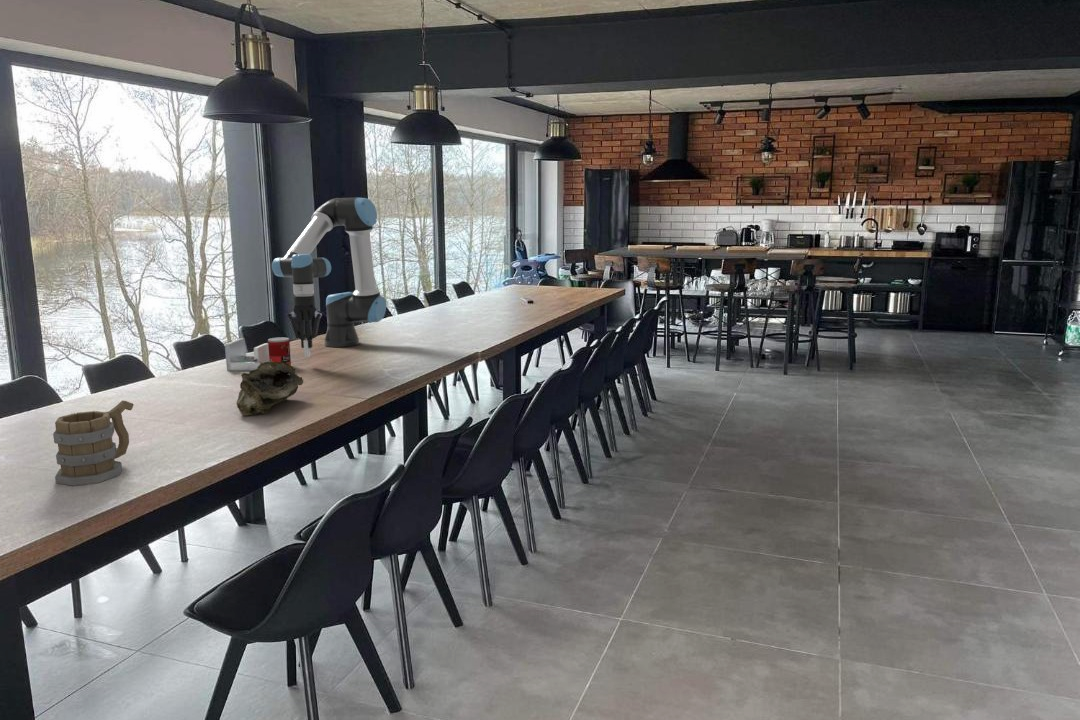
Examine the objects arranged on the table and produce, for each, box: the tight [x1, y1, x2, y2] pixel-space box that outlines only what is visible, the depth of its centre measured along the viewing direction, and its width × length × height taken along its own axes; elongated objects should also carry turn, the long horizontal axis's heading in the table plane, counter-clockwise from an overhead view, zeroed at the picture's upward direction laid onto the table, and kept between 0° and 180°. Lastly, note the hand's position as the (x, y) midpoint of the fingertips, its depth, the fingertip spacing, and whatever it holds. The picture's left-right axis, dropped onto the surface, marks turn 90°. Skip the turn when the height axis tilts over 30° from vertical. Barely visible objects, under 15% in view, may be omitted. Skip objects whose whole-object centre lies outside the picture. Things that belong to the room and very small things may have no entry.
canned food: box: [267, 336, 292, 367], centre depth 296 cm, size 8×8×11 cm
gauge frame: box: [224, 337, 262, 371], centre depth 296 cm, size 14×13×10 cm
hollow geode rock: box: [235, 362, 304, 417], centre depth 236 cm, size 28×13×15 cm
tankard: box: [52, 400, 135, 487], centre depth 178 cm, size 20×13×15 cm, turn 158°
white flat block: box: [253, 342, 270, 363], centre depth 295 cm, size 13×2×8 cm, turn 177°
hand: (307, 356), depth 295 cm, fingers closed
